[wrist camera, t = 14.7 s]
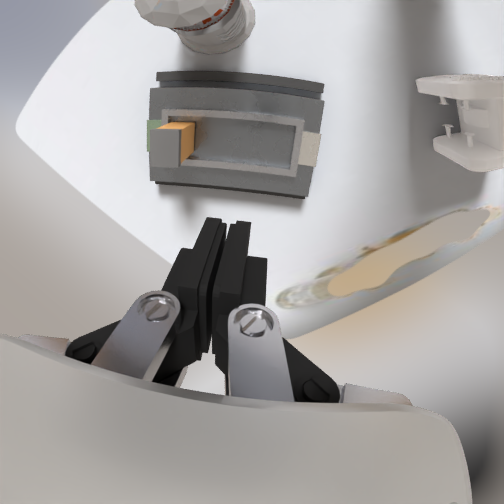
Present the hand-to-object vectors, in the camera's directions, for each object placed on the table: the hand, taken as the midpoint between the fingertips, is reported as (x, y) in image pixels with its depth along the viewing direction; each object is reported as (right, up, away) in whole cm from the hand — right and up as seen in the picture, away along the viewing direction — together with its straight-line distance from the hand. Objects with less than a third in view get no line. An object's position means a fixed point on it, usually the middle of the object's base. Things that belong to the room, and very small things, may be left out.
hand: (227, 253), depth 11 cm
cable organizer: (+30, +20, +16) cm, 39 cm away
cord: (-1, +21, +18) cm, 27 cm away
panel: (-1, +15, +22) cm, 27 cm away
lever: (-7, +13, +19) cm, 25 cm away
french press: (-3, +29, +13) cm, 32 cm away
